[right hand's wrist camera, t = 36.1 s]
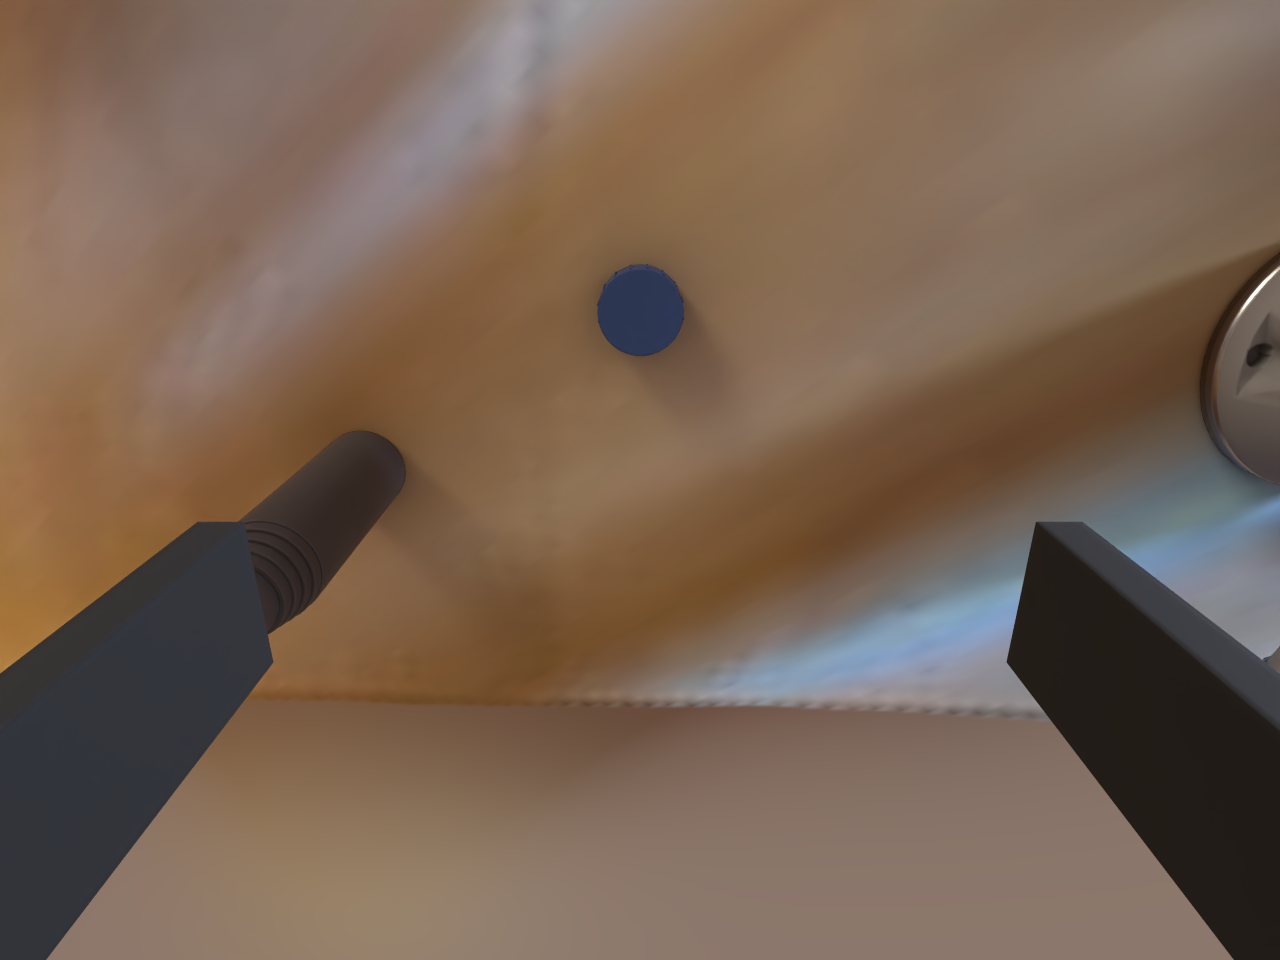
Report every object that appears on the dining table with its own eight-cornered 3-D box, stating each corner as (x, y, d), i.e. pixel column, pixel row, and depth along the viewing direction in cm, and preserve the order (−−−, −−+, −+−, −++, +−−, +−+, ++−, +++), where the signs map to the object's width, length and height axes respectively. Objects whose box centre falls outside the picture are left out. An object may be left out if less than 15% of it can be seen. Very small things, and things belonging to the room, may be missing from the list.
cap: (664, 358, 43) (665, 368, 41) (588, 330, 42) (585, 338, 40) (693, 281, 41) (696, 287, 39) (615, 251, 41) (614, 255, 39)
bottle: (314, 438, 45) (110, 597, 28) (392, 424, 44) (235, 577, 27) (340, 511, 46) (163, 704, 29) (415, 498, 46) (281, 686, 29)
